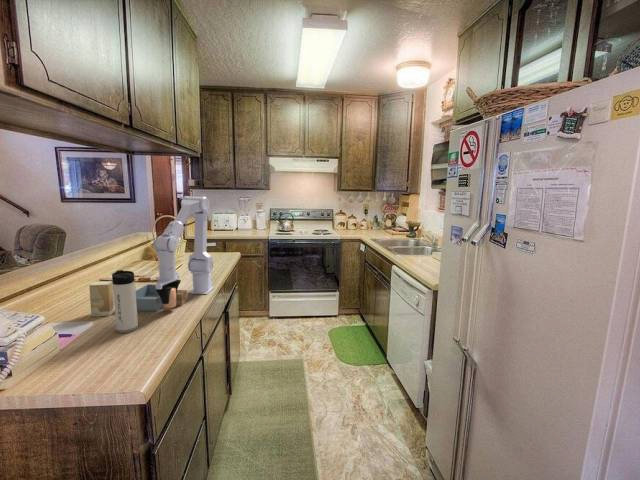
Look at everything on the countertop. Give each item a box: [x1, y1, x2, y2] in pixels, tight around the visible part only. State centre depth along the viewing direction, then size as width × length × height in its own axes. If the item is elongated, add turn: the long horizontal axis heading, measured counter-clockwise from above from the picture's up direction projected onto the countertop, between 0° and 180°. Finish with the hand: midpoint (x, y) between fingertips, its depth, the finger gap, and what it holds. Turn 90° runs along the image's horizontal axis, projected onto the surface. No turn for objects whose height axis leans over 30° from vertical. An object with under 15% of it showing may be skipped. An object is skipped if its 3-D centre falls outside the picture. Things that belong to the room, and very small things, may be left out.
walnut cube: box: [176, 289, 189, 307], centre depth 127 cm, size 5×5×5 cm
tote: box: [135, 283, 163, 312], centre depth 127 cm, size 17×13×5 cm
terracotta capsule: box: [162, 287, 177, 309], centre depth 119 cm, size 5×5×7 cm
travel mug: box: [111, 269, 139, 334], centre depth 102 cm, size 6×7×20 cm
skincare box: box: [88, 280, 115, 317], centre depth 114 cm, size 6×4×12 cm
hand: (169, 300), depth 119 cm, fingers closed on terracotta capsule, 5 cm apart
